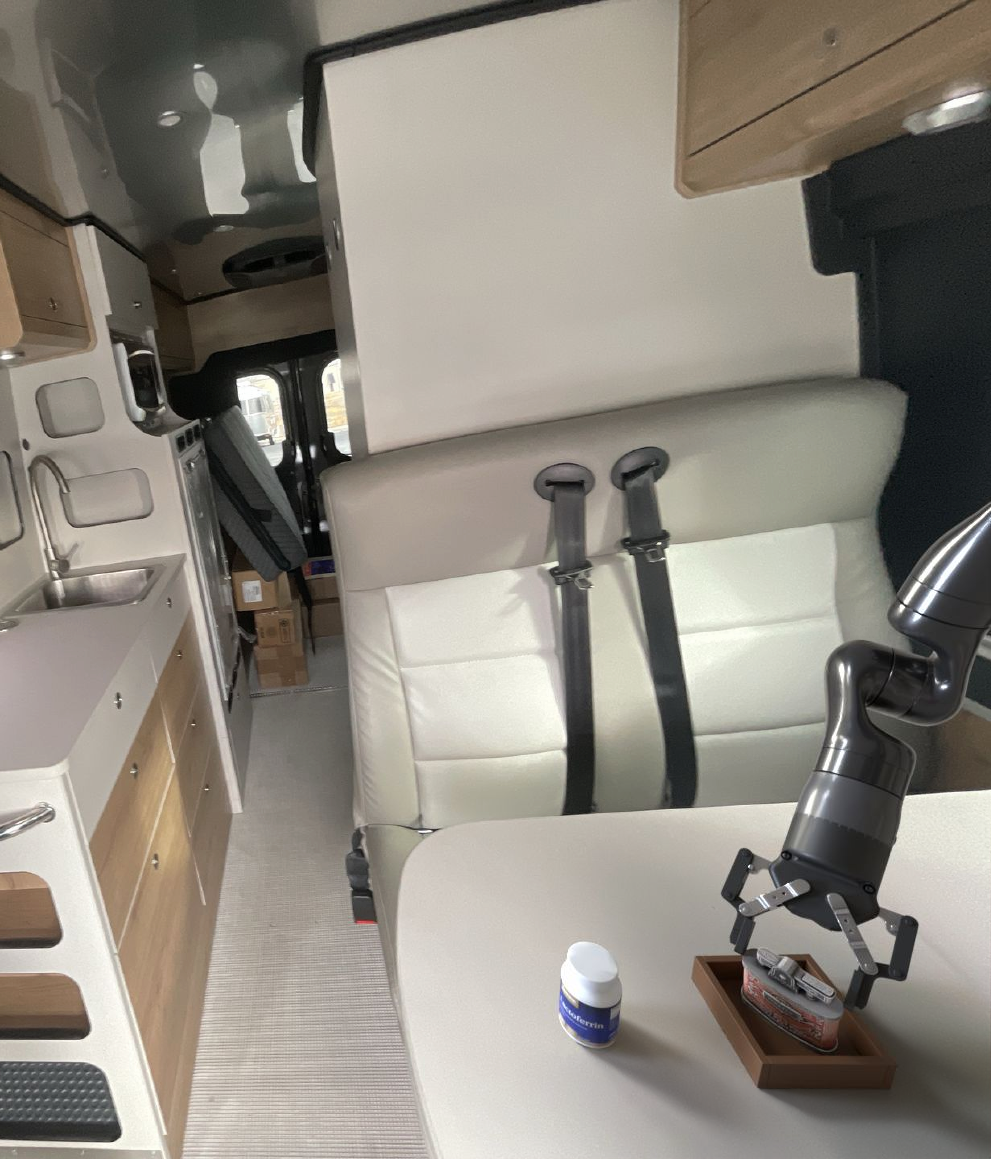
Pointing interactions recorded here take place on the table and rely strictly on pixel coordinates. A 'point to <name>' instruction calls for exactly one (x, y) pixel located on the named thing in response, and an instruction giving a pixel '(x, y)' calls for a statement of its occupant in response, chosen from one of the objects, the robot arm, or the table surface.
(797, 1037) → the lighter
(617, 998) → the pill bottle
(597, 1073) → the table surface
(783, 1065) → the tray
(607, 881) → the table surface
